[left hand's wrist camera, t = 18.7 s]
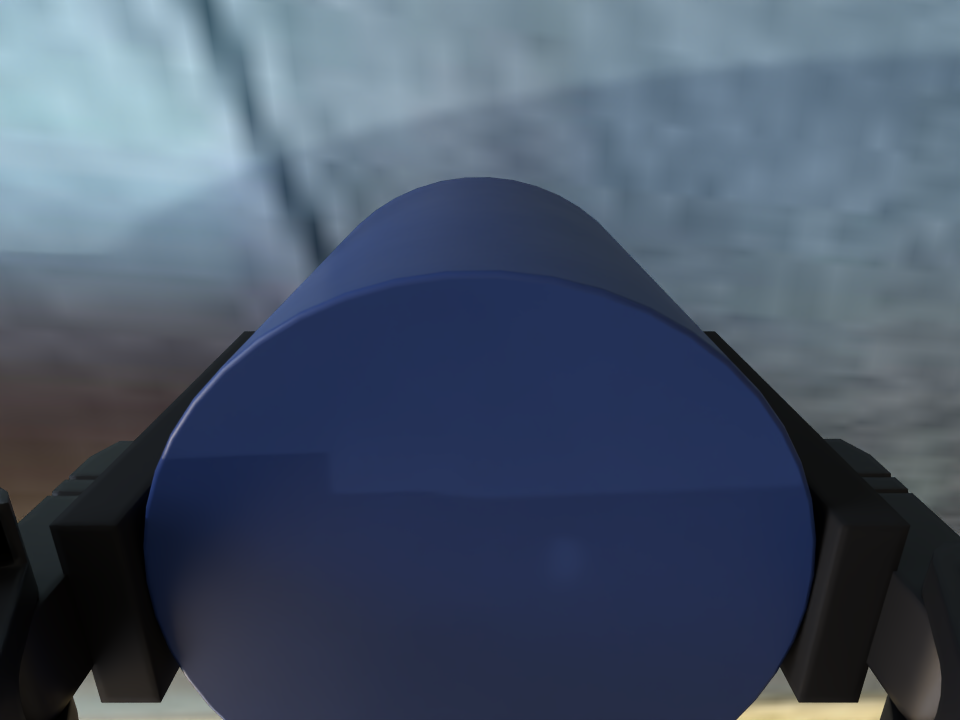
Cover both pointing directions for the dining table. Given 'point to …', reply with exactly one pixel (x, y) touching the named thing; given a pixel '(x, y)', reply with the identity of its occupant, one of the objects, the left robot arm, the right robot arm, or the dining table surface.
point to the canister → (479, 488)
